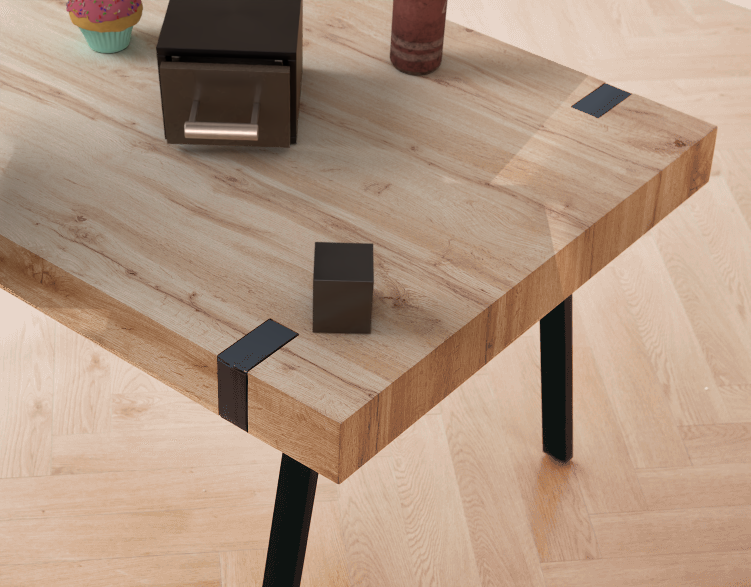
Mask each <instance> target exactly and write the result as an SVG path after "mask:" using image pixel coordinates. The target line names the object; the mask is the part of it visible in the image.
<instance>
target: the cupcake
mask: <svg viewBox="0 0 751 587" xmlns="http://www.w3.org/2000/svg"><path fill="white" fill-rule="evenodd" d="M65 6H66V7H65V8H66V10H65V11H66V12H67V13H68V16H69V19H70V21H71V23H72V24H73V25H74V26H75V27H77V28H78V29H79V30H80V32H81V34H82V35H83V38H84V39H85V41H86V43H87V45H88V47H89V48H90V49H91V50H93V51H95V52H96V53H97V52H98V53H102V54H114V53H118V52H121V51H123V50H125V49H127V48H128V47H129V45H130V43H131V39H132V38H131V37H132V33H133V28H134V26H137V24H139V22H140V20H141V18H142V16H143V10H144V4H143V1H142V0H67V3H65Z"/></svg>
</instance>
